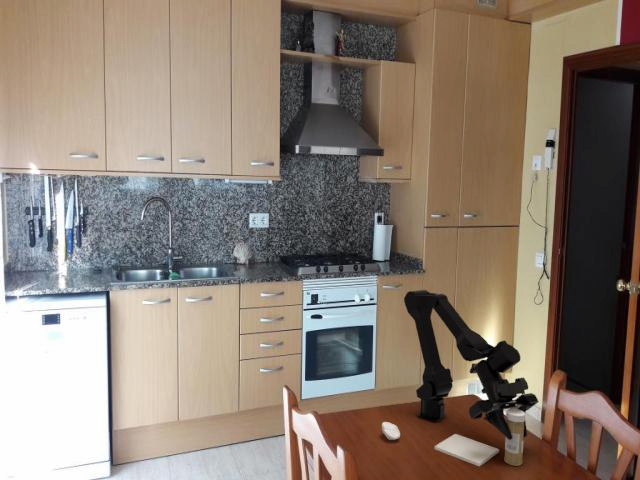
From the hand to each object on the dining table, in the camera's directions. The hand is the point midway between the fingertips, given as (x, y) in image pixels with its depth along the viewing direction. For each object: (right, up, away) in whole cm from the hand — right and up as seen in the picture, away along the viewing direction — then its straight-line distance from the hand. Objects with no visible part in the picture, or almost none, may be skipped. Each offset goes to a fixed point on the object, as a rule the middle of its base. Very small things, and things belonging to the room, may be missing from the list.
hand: (518, 437), depth 140 cm
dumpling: (-30, -5, +14) cm, 34 cm away
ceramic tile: (-11, -6, +8) cm, 15 cm away
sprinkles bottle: (-1, -7, +2) cm, 7 cm away
